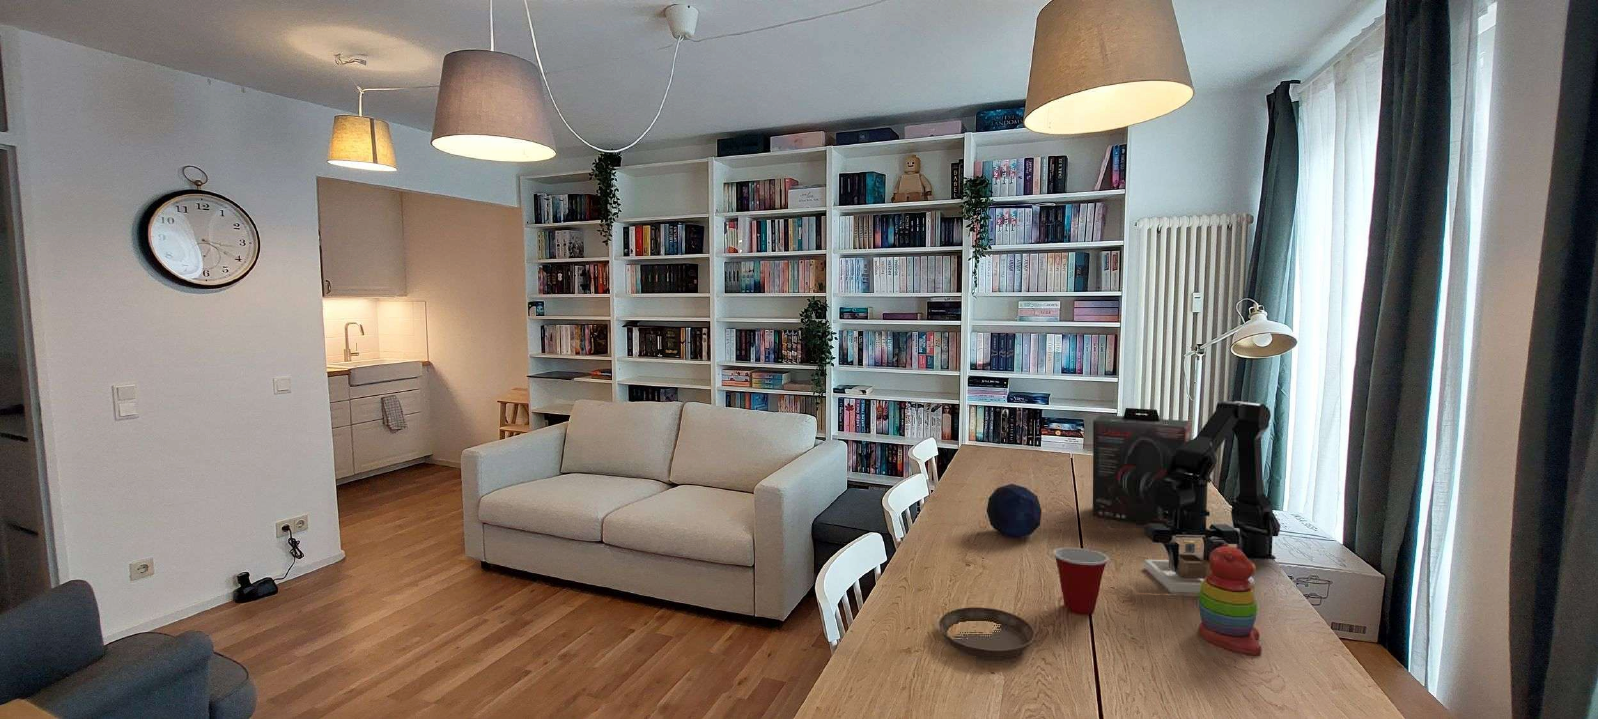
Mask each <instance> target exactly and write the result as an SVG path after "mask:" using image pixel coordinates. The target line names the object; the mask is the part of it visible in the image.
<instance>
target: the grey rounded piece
mask: <svg viewBox="0 0 1598 719" xmlns="http://www.w3.org/2000/svg"><path fill="white" fill-rule="evenodd" d="M1196 543H1197V542H1196V541H1195V540H1182V544H1183V545H1184V546H1185V547H1184V548H1185V550H1184V553H1196V552H1195V549H1196V547H1195V546H1196Z"/></svg>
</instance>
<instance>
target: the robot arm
mask: <svg viewBox="0 0 1598 719" xmlns="http://www.w3.org/2000/svg"><path fill="white" fill-rule="evenodd" d="M1270 420H1271V411H1270V409H1269V407H1268V406H1266V405H1265V403H1260V402H1259V403H1257V402H1248V401H1240V400H1235V401H1227V400H1226V401H1225V400H1222V401H1219V402H1218V403H1217V405H1216V406H1215V411H1213V413H1212V415H1211V416H1210V418H1208V420H1207V421H1206V422H1205V424H1204V425H1203V427H1202V428H1201V429H1200V431H1199V432H1198V434H1197V435H1196V436H1194V438H1192V439H1190V440H1189V441H1187V442H1184V443H1183V444H1182V445H1181V446H1180V447H1179V448H1178V449H1177V450H1176V452H1175V453H1174V454H1173V457H1172V459H1171V461H1170V464H1169V466H1168V469H1167V471H1166V473H1165V477H1167V478H1171V479H1165V480H1164V485H1162V486H1160V487H1158V488H1157V490H1156V492H1155V494H1154V497H1155V501H1156V503H1157V505H1158V518H1159V519H1160V520H1166V522H1167V524H1172V525H1173V526H1176V527H1177V529H1175V528H1167V527H1166V526H1165V525H1163V524H1162V523H1147V524H1144V526H1143V535H1144V536H1145V537H1146V538H1148V539H1149V540H1150V541H1151V542H1152V543H1156V544H1162V545H1163V546H1164V548H1165V550H1166V553H1167V555H1168V560H1169V559H1170V562H1171V564H1172V567H1173V569H1174V570H1176V569H1177V565H1178V556H1179V553H1180V544H1179V543H1177V542H1176V538H1197V539H1198V538H1201V539H1202V543H1203V551H1202V552H1203V553H1202V554H1203V555H1202V556H1203V557H1204V558H1205V559H1207V560H1208V561H1209V556H1210V554H1211V552H1212V551H1213V550H1214V549H1216V548H1219V547H1222V545H1223V544H1224V543H1228V545H1236V548H1237V549H1239V550H1241V551H1242V552H1243V553H1244V554H1245V556H1246V557H1247V558H1248V559H1253V560H1255V559H1257V560H1258V559H1259V560H1260V559H1261V560H1262V559H1263V560H1264V559H1265V560H1276V559H1277V558H1276V556H1275V555H1273V539H1274V538H1273V537H1277V538H1278V537H1279V534H1280V531H1281V524H1280V522H1279V520H1278V519H1277V517H1276V515H1275V514H1274V511H1273V504H1272V502H1271V501H1270V499H1269V498H1268V496H1267V495H1266V494H1265V493H1264V478H1263V476H1264V475H1263V474H1264V473H1263V454H1262V453H1263V452H1262V451H1263V450H1262V449H1263V448H1262V436H1263V435H1264V434H1265V432H1266V431H1267V429H1269V428H1270V427H1269V426H1270V424H1269V423H1270ZM1230 432H1232V433H1233V435H1234V436H1235V437H1236V438H1237V461H1238V478H1239V479H1238V481H1239V494H1238V495H1237V496H1236V497H1235V499H1234V500H1233V501H1232V502H1231V511H1230V515H1231V522H1232V526H1233V527H1232V526H1231V525H1229V524H1227V523H1226V524H1225V523H1223V524H1222V523H1211V524H1210V526H1209V528H1207V517H1210V516H1211V515H1210V514H1211V513H1210V510H1208V509H1207V508H1208V483H1211V482H1212V479H1211V475H1212V473H1213V472H1214V469H1215V468H1216V464H1217V462H1218V459H1217V455H1216V453H1217V451H1218V449H1219V448H1220V447H1221V446H1222V444H1223V442H1224V441H1225V440H1226V438H1227V436H1228V435H1230ZM1177 470H1178V471H1180V472H1176V471H1177ZM1181 472H1185V473H1190V474H1185V473H1181ZM1237 529H1238V530H1239V531H1238V530H1237Z"/></svg>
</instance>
